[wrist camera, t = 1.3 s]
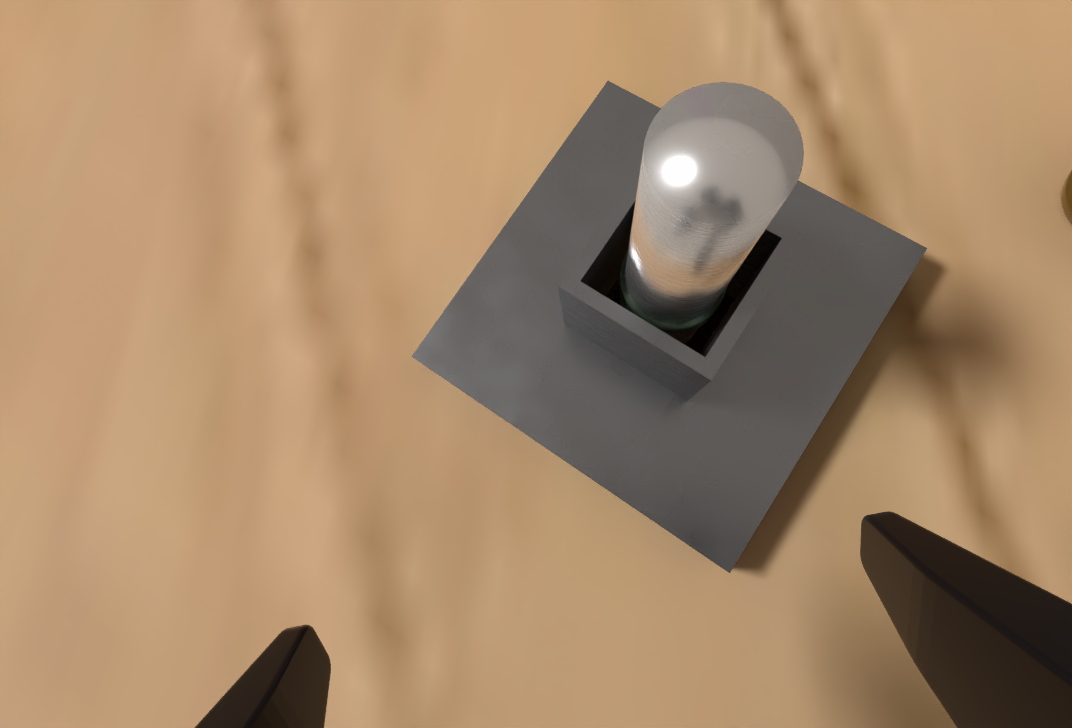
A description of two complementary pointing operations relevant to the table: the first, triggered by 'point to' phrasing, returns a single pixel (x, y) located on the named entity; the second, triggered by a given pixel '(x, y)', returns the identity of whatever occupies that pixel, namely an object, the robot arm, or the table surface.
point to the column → (705, 200)
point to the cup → (1067, 197)
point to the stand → (665, 339)
